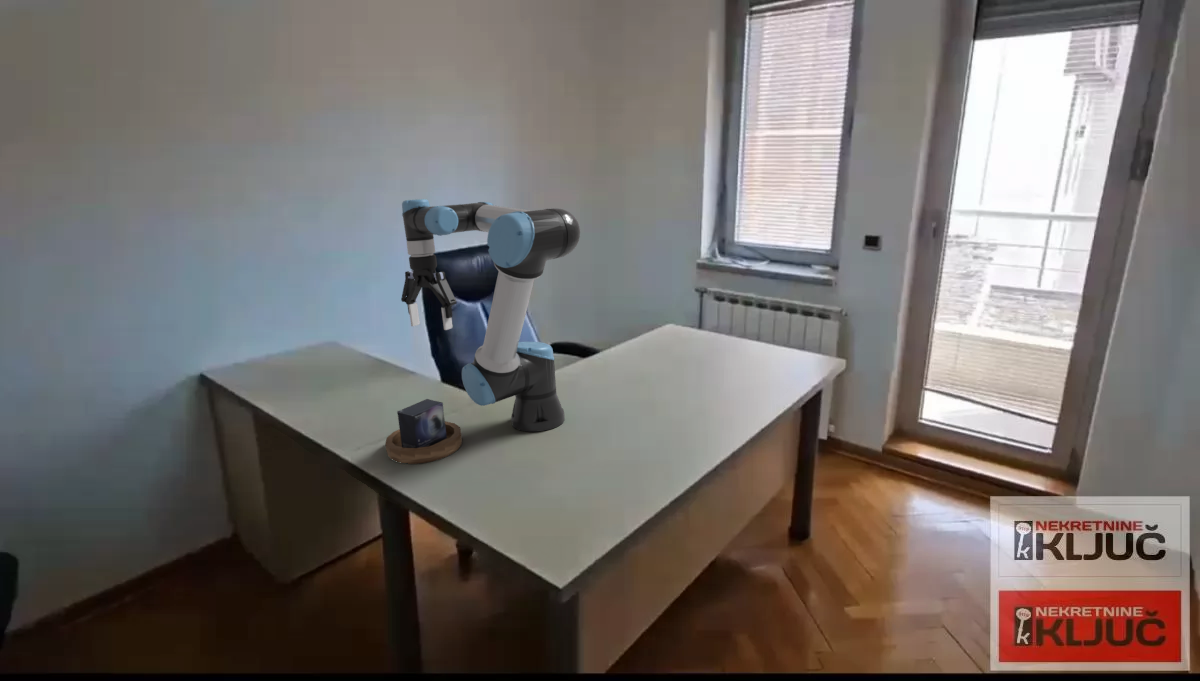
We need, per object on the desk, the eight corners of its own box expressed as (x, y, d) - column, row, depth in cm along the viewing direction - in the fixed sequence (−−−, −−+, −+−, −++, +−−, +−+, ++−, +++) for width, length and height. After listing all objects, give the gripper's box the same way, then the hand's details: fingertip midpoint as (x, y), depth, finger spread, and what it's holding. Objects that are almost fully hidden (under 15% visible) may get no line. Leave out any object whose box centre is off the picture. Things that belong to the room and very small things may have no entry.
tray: (476, 440, 166) (475, 427, 165) (423, 469, 151) (421, 456, 150) (427, 428, 176) (425, 417, 175) (372, 455, 161) (370, 442, 160)
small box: (418, 453, 157) (412, 415, 154) (401, 449, 160) (395, 411, 158) (448, 438, 166) (443, 401, 163) (431, 434, 169) (426, 398, 166)
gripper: (463, 253, 172) (472, 327, 178) (402, 252, 185) (412, 321, 191) (443, 257, 166) (453, 333, 172) (382, 255, 179) (392, 326, 185)
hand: (431, 327), depth 181 cm, fingers open, 13 cm apart
